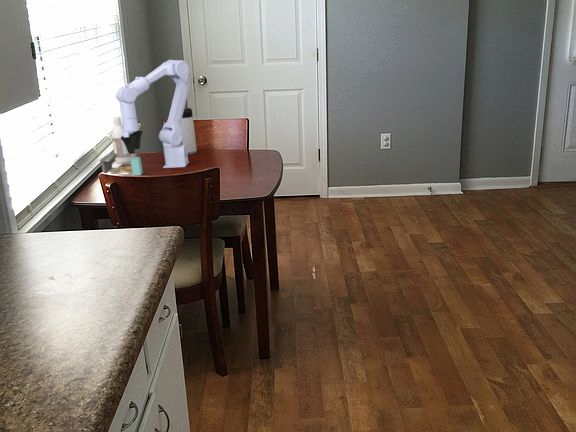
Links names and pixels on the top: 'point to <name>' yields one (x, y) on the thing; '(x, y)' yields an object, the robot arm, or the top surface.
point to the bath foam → (119, 143)
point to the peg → (136, 166)
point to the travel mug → (188, 131)
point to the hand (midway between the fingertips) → (134, 151)
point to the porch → (118, 170)
